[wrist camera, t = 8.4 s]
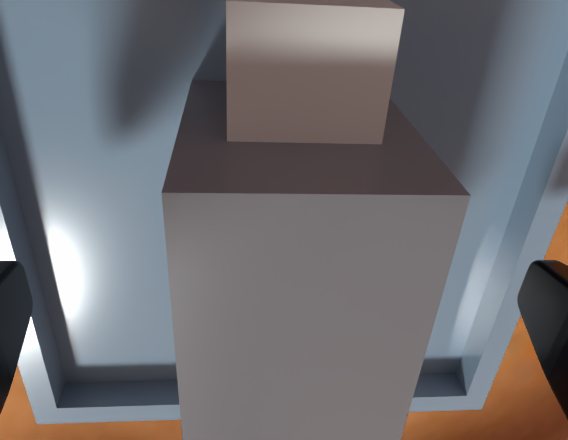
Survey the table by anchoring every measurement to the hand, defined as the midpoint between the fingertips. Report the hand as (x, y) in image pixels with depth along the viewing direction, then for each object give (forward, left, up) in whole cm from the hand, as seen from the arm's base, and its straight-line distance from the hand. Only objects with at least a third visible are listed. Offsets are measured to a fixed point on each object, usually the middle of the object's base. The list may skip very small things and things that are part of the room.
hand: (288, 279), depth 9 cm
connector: (0, 0, -2) cm, 2 cm away
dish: (0, 0, -3) cm, 3 cm away
